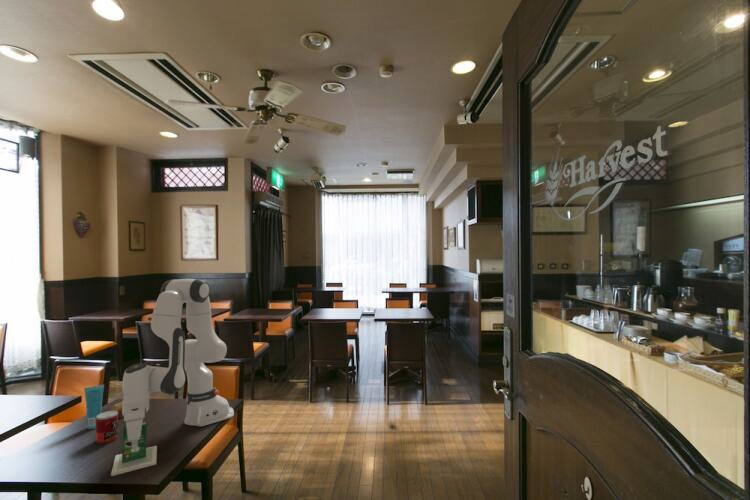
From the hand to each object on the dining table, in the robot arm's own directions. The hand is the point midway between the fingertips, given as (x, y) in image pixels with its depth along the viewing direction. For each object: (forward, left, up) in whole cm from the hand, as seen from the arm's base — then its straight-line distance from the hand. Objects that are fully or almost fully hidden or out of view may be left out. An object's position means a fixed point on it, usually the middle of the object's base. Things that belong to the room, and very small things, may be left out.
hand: (135, 442), depth 138 cm
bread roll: (+9, -55, -8) cm, 56 cm away
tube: (+19, -45, -7) cm, 49 cm away
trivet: (0, 0, -7) cm, 7 cm away
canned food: (+12, -27, -7) cm, 30 cm away
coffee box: (0, 0, -6) cm, 6 cm away
